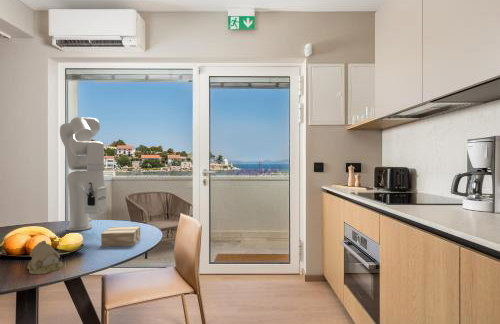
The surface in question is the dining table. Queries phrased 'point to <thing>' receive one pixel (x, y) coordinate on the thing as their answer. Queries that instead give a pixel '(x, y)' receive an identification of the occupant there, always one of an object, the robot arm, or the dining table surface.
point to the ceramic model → (44, 259)
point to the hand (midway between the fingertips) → (95, 203)
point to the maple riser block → (120, 236)
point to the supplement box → (96, 202)
